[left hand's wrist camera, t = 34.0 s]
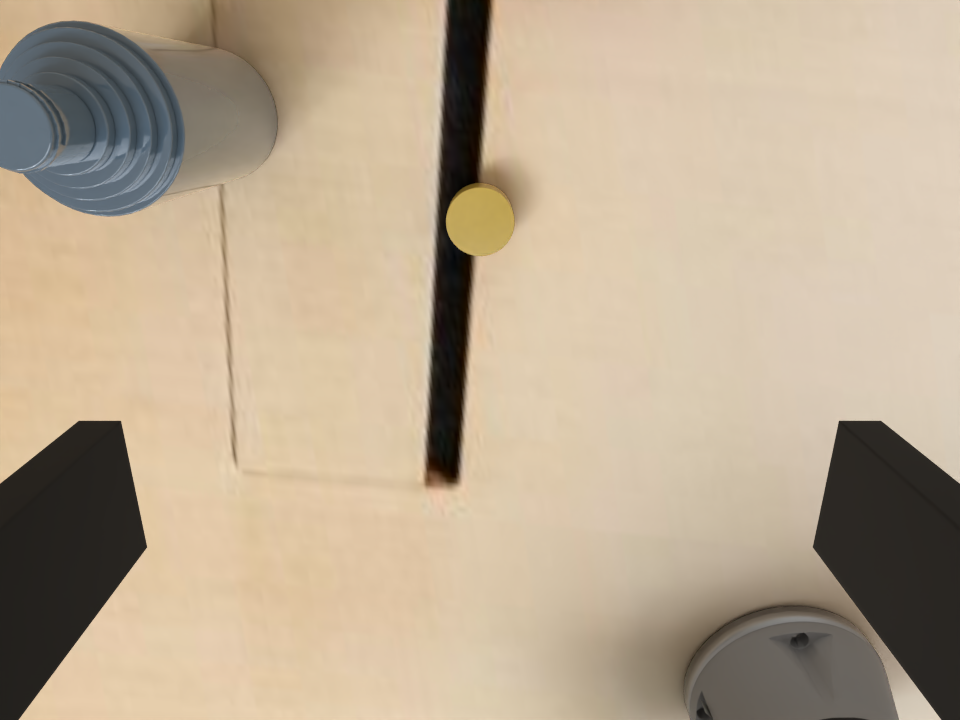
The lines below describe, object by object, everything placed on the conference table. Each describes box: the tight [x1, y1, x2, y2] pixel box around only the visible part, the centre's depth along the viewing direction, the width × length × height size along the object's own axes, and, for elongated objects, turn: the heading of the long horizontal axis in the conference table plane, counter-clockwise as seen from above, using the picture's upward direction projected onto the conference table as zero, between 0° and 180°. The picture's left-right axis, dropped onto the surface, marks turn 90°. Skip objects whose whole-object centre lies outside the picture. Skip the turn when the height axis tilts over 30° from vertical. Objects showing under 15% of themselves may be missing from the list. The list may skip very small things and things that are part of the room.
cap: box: [446, 183, 515, 256], centre depth 41 cm, size 4×4×2 cm
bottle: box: [0, 21, 277, 216], centre depth 31 cm, size 7×7×19 cm
